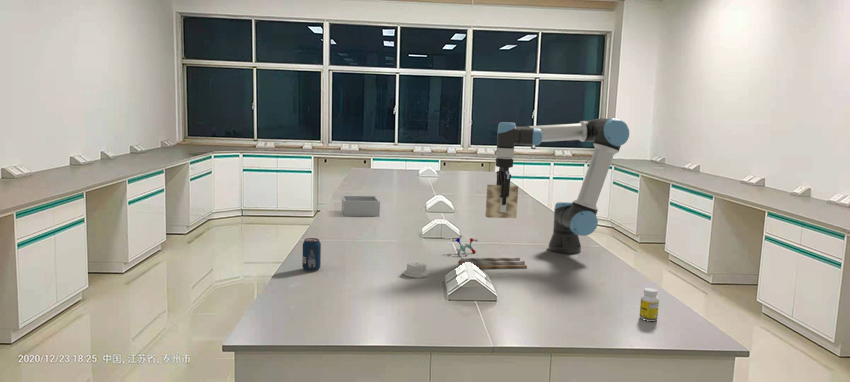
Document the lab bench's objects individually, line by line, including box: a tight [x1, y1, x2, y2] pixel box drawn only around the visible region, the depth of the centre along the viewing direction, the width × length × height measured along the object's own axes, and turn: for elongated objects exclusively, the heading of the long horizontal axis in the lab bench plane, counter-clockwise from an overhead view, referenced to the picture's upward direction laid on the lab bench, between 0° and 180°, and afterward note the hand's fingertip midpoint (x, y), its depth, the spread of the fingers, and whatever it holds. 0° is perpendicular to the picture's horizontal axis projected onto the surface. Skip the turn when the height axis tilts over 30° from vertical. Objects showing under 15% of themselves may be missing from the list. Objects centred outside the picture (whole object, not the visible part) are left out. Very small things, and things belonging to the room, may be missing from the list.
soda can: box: [301, 237, 322, 273], centre depth 239 cm, size 7×7×12 cm
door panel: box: [484, 184, 519, 219], centre depth 269 cm, size 13×4×14 cm, turn 100°
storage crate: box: [341, 195, 381, 217], centre depth 371 cm, size 21×21×9 cm
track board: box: [458, 257, 528, 270], centre depth 258 cm, size 26×12×2 cm, turn 101°
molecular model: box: [451, 234, 479, 257], centre depth 277 cm, size 12×10×10 cm
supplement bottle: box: [639, 287, 660, 322], centre depth 196 cm, size 5×5×10 cm
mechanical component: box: [403, 261, 430, 279], centre depth 239 cm, size 10×4×10 cm
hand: (501, 211), depth 269 cm, fingers closed on door panel, 3 cm apart
